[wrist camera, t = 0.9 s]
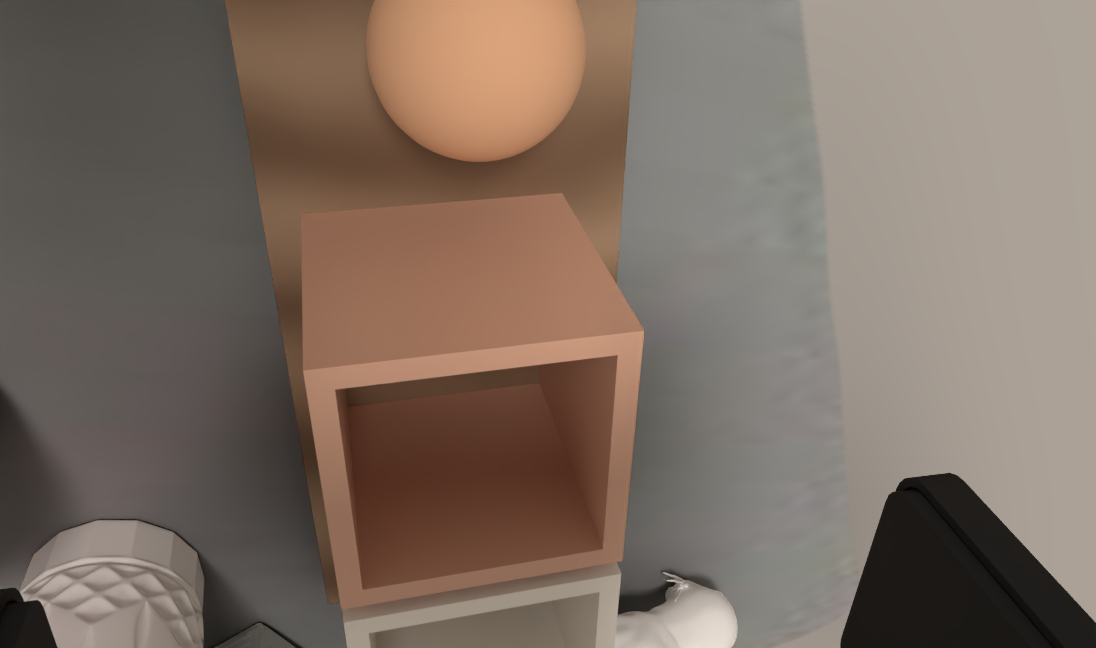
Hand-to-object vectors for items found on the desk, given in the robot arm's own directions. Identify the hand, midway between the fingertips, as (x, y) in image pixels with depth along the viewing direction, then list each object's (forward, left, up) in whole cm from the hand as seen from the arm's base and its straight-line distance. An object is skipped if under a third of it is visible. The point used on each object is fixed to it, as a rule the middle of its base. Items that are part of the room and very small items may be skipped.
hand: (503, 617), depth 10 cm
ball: (-1, +3, -21) cm, 21 cm away
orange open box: (+9, +2, -21) cm, 23 cm away
